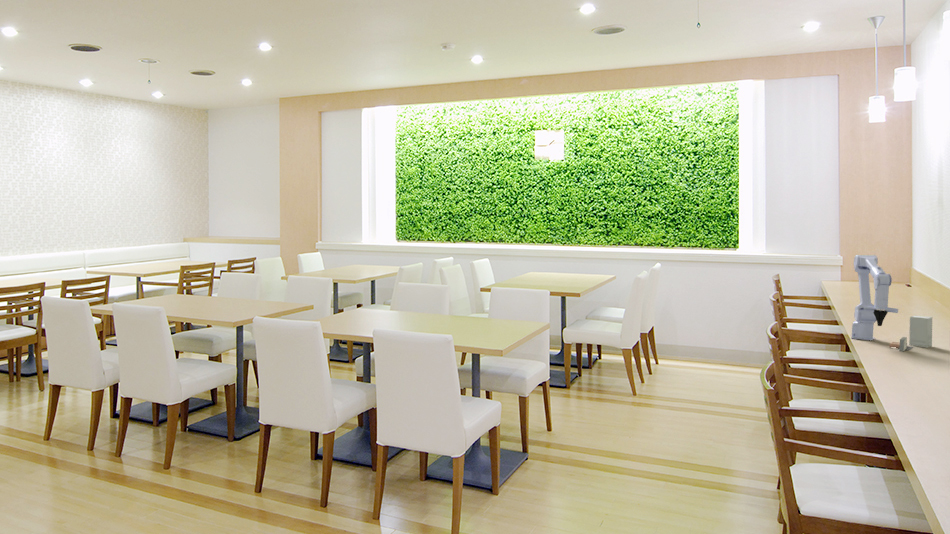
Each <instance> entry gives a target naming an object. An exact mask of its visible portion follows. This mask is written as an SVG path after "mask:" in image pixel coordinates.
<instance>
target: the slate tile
mask: <svg viewBox="0 0 950 534" xmlns="http://www.w3.org/2000/svg"><path fill="white" fill-rule="evenodd" d="M907 341H908V338H907V337H906V336H902V337H901V338H900V339H899V343H900V349H898V350H899V351H898V352H901V351H902V352H903V351H904V352H905V351H907V350H906V347H907V346H908V342H907ZM904 352H903V353H904Z"/></svg>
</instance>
